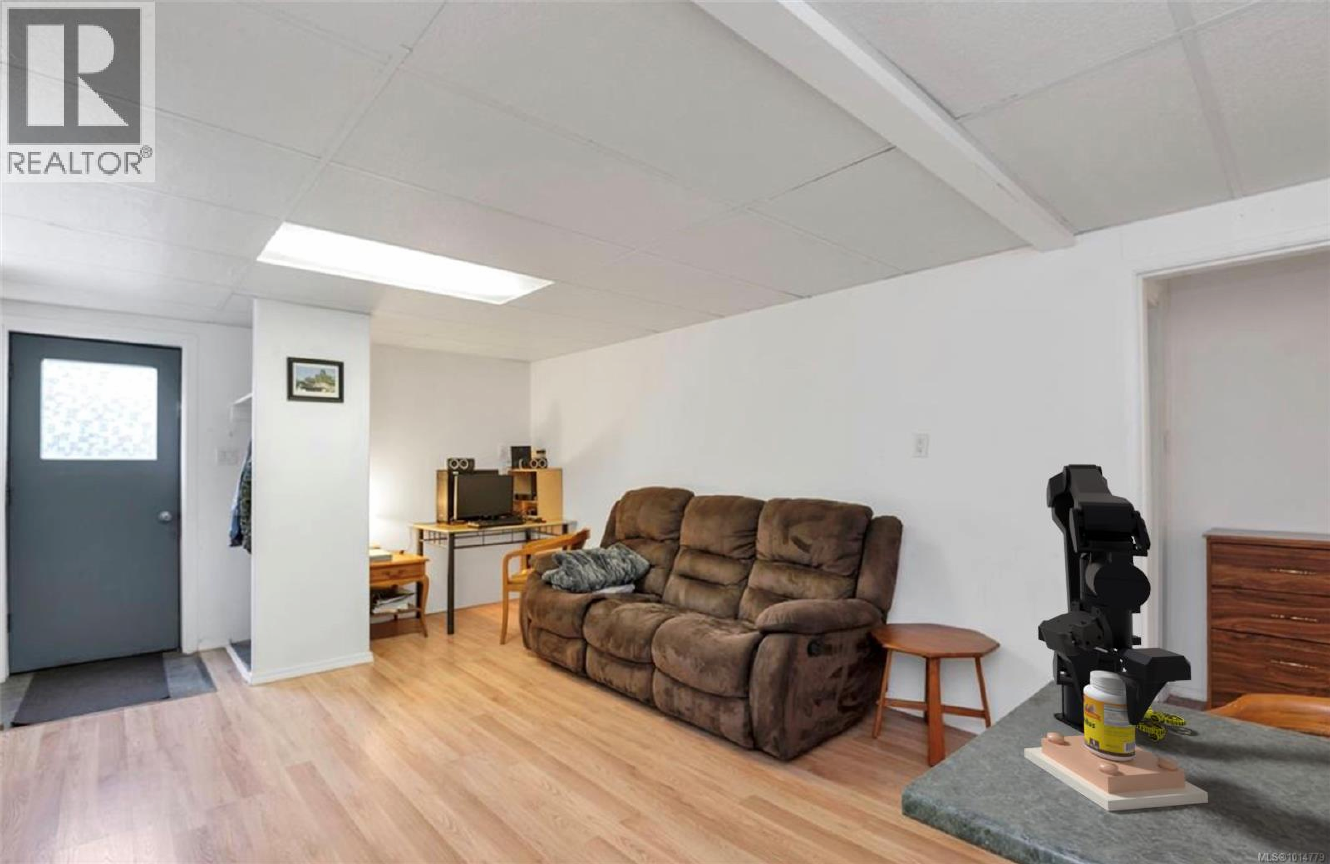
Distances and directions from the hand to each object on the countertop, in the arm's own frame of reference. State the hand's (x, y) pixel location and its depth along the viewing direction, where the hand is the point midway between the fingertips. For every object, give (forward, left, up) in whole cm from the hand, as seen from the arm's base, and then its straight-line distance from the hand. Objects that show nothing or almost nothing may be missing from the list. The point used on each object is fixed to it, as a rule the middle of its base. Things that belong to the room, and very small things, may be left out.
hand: (1108, 712), depth 84 cm
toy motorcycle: (-13, +19, -9) cm, 24 cm away
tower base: (0, 0, -8) cm, 8 cm away
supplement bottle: (0, 0, -6) cm, 6 cm away
